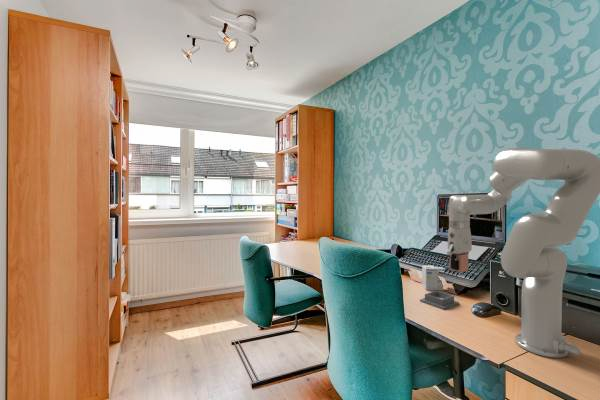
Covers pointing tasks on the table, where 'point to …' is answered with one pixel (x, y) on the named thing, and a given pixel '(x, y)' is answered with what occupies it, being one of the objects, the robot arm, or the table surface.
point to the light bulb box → (431, 277)
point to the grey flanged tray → (439, 300)
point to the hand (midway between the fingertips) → (458, 267)
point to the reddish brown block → (462, 262)
